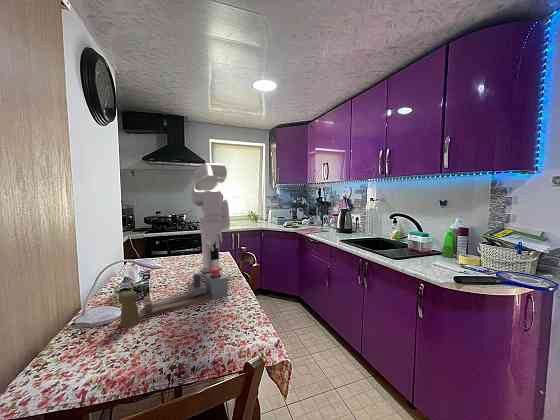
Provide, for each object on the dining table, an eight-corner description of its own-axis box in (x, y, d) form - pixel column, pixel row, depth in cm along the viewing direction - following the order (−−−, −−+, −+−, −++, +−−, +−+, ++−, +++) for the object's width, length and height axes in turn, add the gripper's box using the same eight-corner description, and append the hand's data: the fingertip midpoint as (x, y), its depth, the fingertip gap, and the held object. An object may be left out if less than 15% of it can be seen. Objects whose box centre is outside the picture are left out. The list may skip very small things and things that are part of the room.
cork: (118, 329, 79) (116, 297, 78) (121, 320, 84) (119, 291, 83) (139, 324, 82) (137, 293, 81) (140, 316, 87) (138, 287, 86)
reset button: (208, 276, 106) (208, 268, 105) (219, 274, 108) (218, 266, 108) (211, 279, 101) (211, 271, 101) (222, 277, 104) (222, 269, 104)
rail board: (144, 306, 94) (143, 296, 94) (204, 291, 107) (203, 282, 107) (146, 317, 86) (145, 306, 85) (211, 299, 99) (210, 289, 99)
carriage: (188, 292, 102) (187, 273, 101) (202, 289, 105) (201, 271, 105) (192, 298, 96) (191, 278, 95) (206, 294, 99) (205, 275, 99)
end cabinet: (205, 291, 108) (204, 274, 107) (220, 287, 112) (219, 271, 111) (212, 299, 99) (211, 281, 99) (227, 294, 103) (227, 277, 103)
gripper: (199, 218, 107) (201, 257, 108) (209, 220, 94) (211, 264, 95) (215, 216, 111) (217, 254, 112) (227, 218, 99) (229, 261, 100)
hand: (214, 259), depth 104 cm, fingers closed
